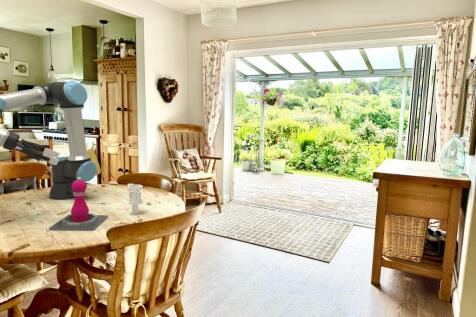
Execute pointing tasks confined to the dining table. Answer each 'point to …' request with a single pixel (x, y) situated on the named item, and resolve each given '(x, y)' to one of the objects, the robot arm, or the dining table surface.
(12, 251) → the dining table surface
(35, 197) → the dining table surface
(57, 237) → the dining table surface
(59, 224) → the collar plate
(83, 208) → the pepper mill
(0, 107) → the robot arm
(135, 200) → the white blocky figurine
